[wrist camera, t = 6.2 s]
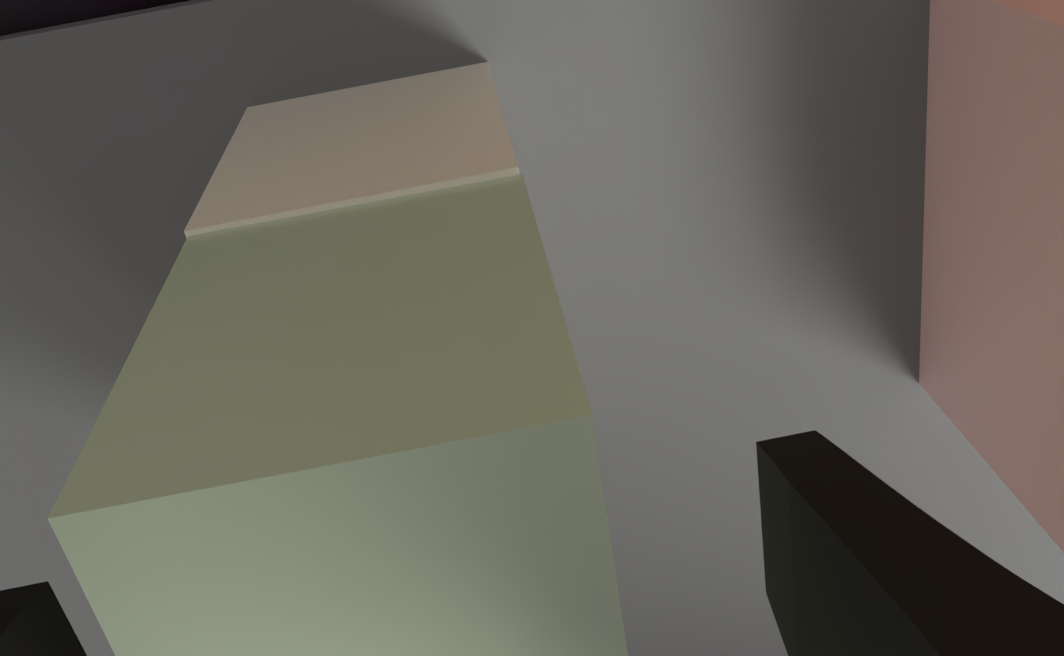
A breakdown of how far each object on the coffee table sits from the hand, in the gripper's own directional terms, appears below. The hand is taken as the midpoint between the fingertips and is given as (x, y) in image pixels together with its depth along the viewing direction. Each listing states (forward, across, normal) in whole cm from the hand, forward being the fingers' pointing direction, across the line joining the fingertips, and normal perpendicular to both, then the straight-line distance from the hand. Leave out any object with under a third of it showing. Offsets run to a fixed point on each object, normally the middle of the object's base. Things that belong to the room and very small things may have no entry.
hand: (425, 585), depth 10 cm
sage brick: (+2, 0, 0) cm, 2 cm away
